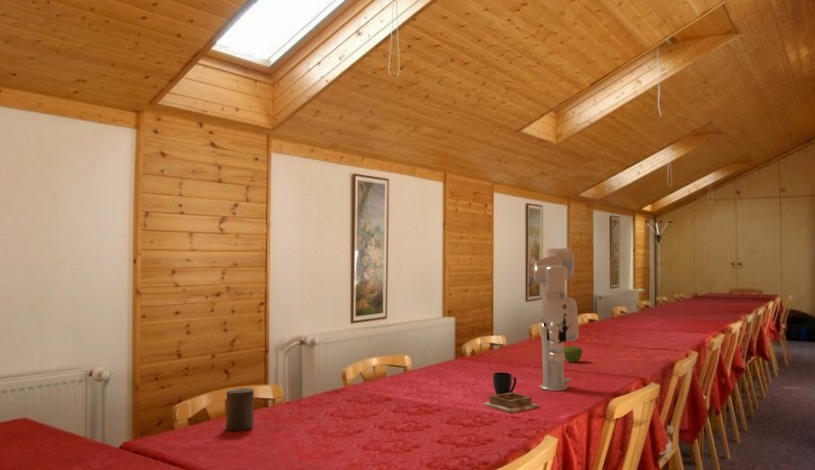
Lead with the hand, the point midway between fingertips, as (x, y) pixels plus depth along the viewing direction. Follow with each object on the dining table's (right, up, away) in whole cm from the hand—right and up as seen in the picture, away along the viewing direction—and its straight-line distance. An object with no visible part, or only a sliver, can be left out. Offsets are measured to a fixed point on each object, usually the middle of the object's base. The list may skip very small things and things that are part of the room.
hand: (556, 340), depth 252 cm
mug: (-17, -29, +23) cm, 40 cm away
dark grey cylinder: (-122, -28, -24) cm, 128 cm away
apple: (+36, -32, +110) cm, 120 cm away
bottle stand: (-18, -28, +3) cm, 33 cm away
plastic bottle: (0, -10, 0) cm, 10 cm away
